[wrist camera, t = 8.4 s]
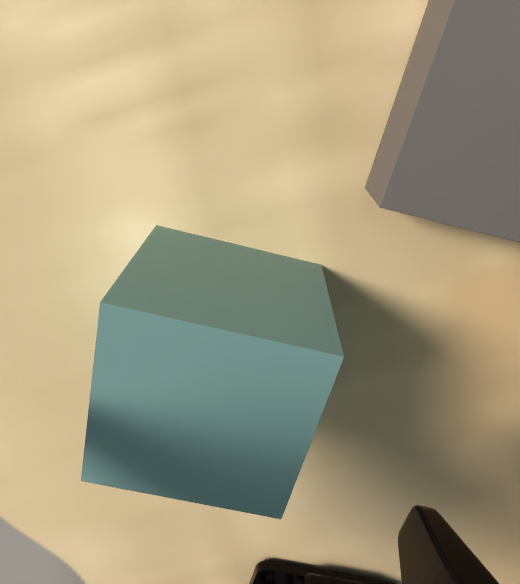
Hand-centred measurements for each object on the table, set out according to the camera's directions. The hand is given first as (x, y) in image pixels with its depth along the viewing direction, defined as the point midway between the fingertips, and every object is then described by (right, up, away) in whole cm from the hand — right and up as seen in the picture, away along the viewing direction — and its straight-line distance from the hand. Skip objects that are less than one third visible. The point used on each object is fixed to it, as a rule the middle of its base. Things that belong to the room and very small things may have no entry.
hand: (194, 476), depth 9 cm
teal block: (0, +3, +6) cm, 6 cm away
